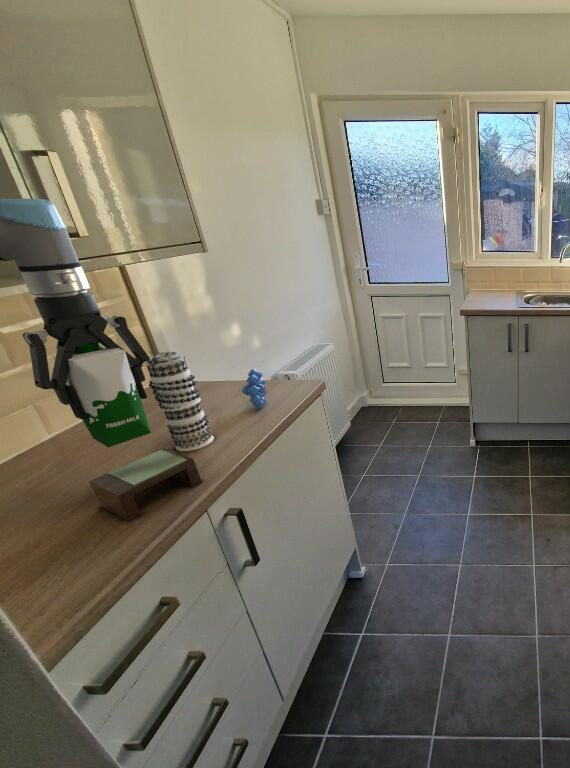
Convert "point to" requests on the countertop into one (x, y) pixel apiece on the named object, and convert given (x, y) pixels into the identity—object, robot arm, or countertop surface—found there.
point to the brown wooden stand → (142, 480)
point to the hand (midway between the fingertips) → (113, 406)
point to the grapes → (255, 389)
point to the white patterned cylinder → (179, 401)
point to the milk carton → (107, 394)
